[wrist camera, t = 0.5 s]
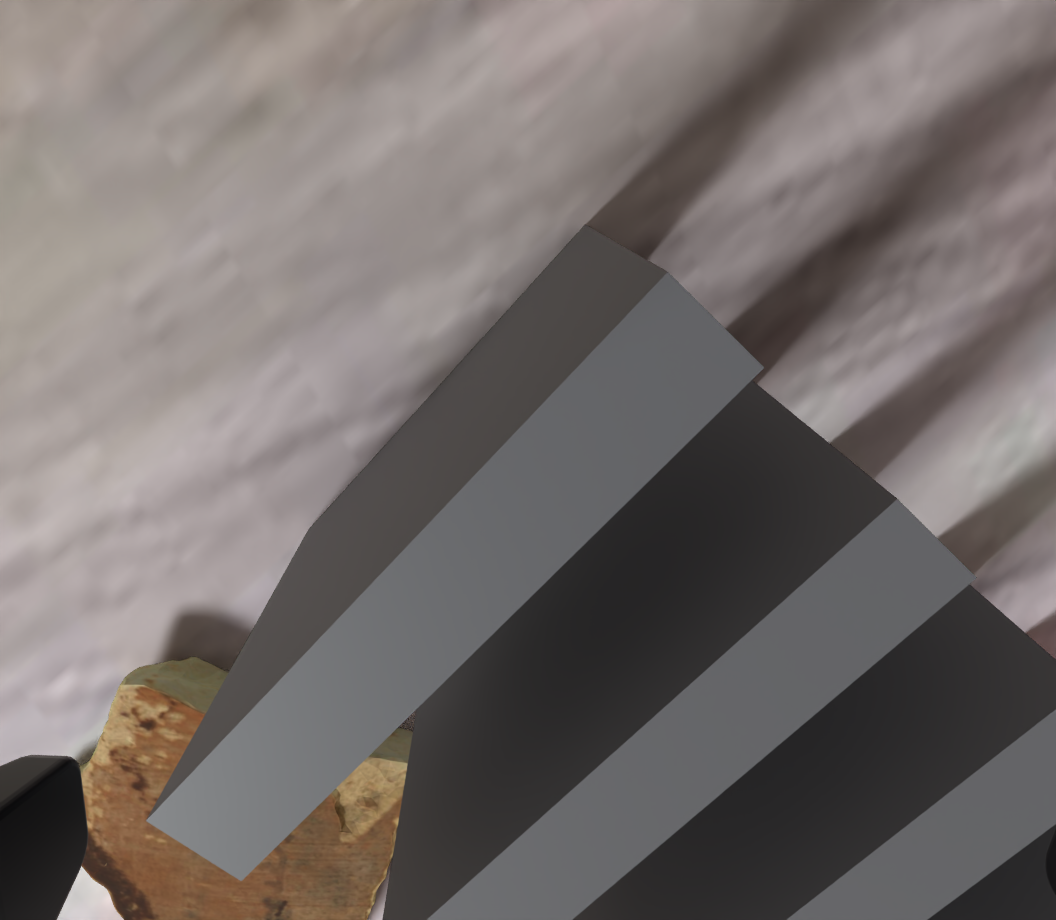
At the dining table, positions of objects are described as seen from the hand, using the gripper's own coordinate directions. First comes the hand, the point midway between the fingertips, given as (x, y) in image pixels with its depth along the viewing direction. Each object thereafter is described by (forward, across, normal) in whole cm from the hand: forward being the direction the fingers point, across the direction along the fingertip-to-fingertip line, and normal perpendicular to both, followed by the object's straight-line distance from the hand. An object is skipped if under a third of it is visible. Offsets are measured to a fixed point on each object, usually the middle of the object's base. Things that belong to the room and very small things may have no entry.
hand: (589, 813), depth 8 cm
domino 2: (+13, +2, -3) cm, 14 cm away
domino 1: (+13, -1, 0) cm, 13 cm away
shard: (+14, -5, -14) cm, 20 cm away
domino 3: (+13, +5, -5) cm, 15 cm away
